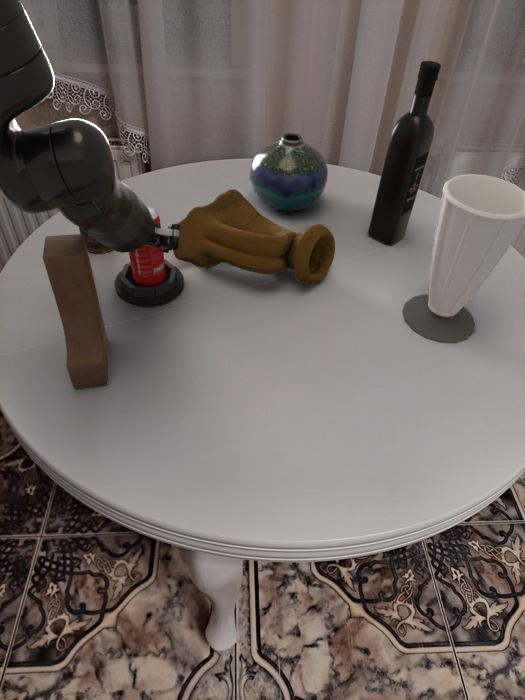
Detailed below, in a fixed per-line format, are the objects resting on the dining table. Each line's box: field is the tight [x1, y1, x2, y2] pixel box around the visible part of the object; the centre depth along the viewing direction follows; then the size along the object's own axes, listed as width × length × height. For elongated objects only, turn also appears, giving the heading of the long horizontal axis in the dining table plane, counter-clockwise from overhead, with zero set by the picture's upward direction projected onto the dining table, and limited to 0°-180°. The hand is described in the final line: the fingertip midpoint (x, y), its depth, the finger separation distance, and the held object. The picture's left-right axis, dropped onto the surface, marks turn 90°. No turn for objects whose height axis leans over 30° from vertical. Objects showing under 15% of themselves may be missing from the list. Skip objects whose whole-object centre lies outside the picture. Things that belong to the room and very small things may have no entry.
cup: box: [402, 173, 525, 344], centre depth 74 cm, size 12×12×22 cm
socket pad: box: [114, 258, 185, 308], centre depth 82 cm, size 11×11×2 cm
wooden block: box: [42, 233, 109, 390], centre depth 64 cm, size 9×4×18 cm, turn 12°
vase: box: [249, 132, 329, 212], centre depth 100 cm, size 15×15×13 cm
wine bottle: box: [367, 60, 442, 246], centre depth 87 cm, size 6×6×30 cm
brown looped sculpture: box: [172, 188, 336, 285], centre depth 84 cm, size 18×13×22 cm
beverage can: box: [128, 205, 166, 287], centre depth 78 cm, size 5×5×12 cm
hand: (148, 244), depth 79 cm, fingers closed on beverage can, 5 cm apart
